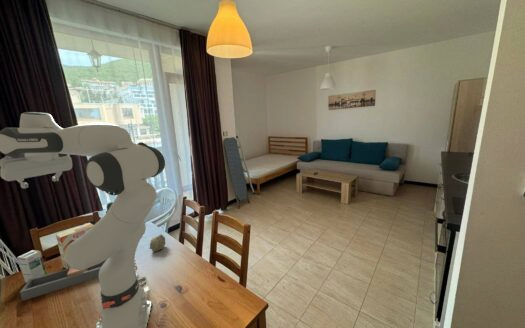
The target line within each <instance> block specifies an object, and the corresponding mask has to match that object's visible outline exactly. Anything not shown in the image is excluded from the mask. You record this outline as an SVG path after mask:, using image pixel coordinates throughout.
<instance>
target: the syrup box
mask: <svg viewBox="0 0 525 328" xmlns="http://www.w3.org/2000/svg"><path fill="white" fill-rule="evenodd" d="M17 260H18V264H19V267H20V270H21V273H22V277H23V279H24V282H25V284H26V283H27V282H28V281H29V279H33V278H36V277H40V276H43V275H47V274H48V272H47V270H46V267H45V262H44V259H43V256H42V252H41V251H40V250H37V249H36V250H35V249H32V250H30V251H28V252H26V253H23V254H21V255H19V256H17Z"/></svg>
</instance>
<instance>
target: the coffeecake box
mask: <svg viewBox="0 0 525 328" xmlns="http://www.w3.org/2000/svg"><path fill="white" fill-rule="evenodd" d="M94 225H95V224H93V223H91V222H88V223H87V222H86V223H84V224H81V225H79V226H75V227H73V228H70V229H67V230H64V231H62V232H59V233H56V234H55V237H56V238H55V239H56V241H57V246H58V250H59V253H60V257H61V262H62V265H63V267H64V268H65V269H68V268H71V267H70V266H69V265H68V264H67V262H66V260H65V251H66V249H67V247H68V245H69V244H71V243H72V242H73V241H75V240H76V239H78V238H79V237H81V236H82V235H83V234H84V233H86V232H87V231H88V230H89V229H90V228H91V227H92V226H94Z"/></svg>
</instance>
